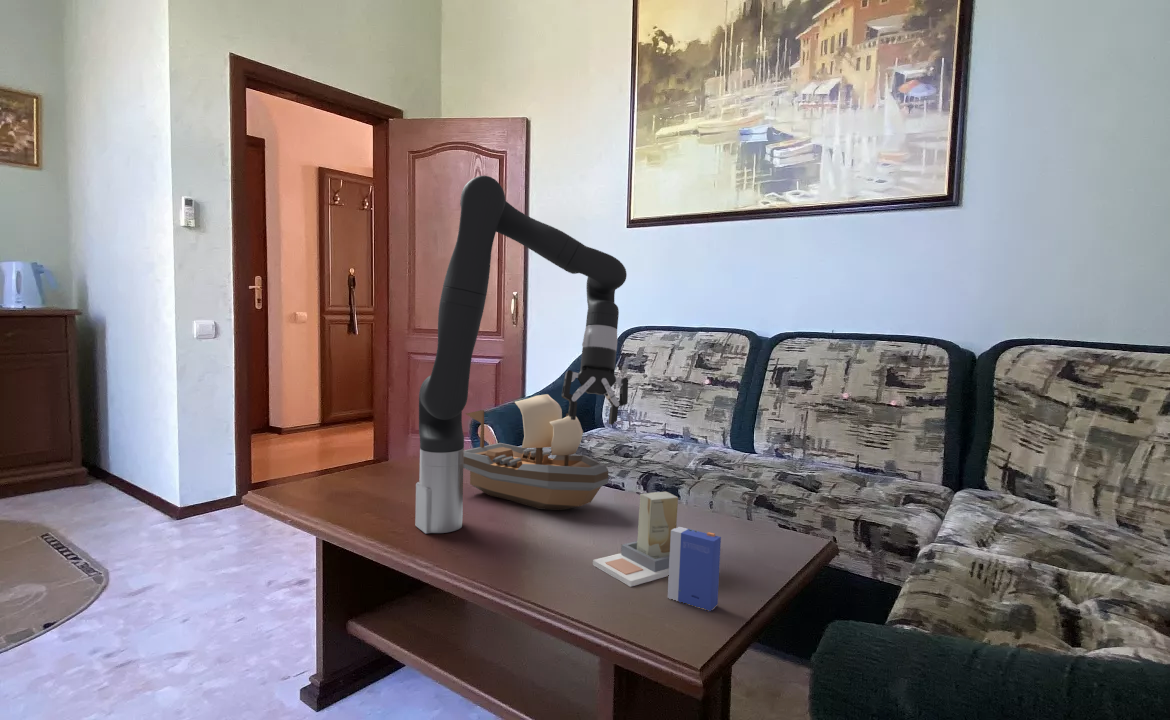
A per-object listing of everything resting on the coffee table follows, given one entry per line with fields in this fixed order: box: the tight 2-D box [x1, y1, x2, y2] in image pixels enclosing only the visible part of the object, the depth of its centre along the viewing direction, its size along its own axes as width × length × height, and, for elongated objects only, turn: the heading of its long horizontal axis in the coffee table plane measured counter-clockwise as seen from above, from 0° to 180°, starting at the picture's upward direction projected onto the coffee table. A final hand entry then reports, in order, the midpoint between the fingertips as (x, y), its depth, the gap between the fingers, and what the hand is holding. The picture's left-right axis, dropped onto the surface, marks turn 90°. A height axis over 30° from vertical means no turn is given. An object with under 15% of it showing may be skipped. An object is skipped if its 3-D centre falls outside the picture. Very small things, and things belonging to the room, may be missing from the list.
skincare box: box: [636, 491, 679, 559], centre depth 120 cm, size 6×4×12 cm
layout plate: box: [592, 540, 669, 588], centre depth 118 cm, size 16×11×3 cm
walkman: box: [667, 526, 722, 612], centre depth 104 cm, size 8×3×12 cm, turn 54°
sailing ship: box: [463, 393, 609, 511], centre depth 158 cm, size 16×45×27 cm, turn 55°
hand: (592, 422), depth 136 cm, fingers open, 8 cm apart
